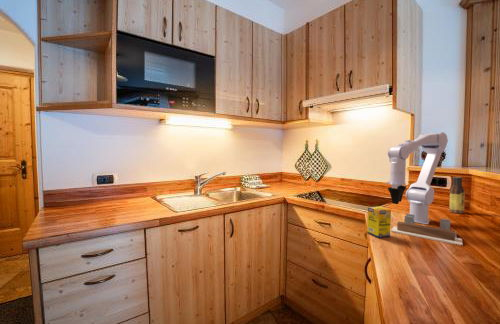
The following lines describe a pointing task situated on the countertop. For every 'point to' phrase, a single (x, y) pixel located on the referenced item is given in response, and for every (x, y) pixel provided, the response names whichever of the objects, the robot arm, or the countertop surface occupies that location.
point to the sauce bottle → (457, 196)
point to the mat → (428, 237)
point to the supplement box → (379, 221)
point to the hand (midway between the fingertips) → (396, 202)
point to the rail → (426, 231)
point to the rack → (443, 223)
